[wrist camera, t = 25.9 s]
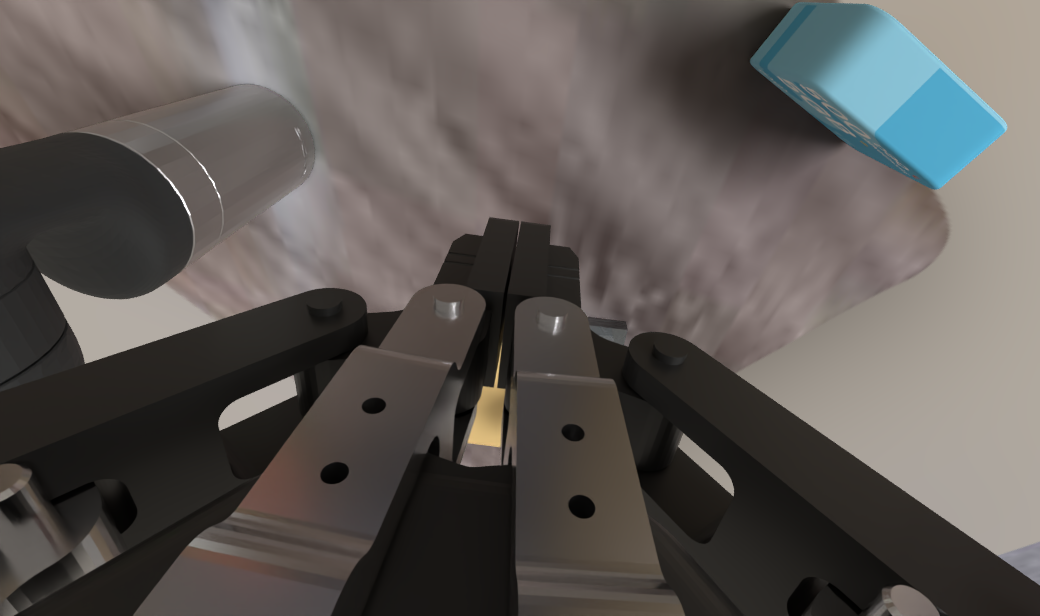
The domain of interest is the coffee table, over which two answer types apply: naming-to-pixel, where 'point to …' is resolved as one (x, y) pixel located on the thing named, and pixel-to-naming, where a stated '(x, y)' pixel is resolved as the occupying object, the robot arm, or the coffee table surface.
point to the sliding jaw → (489, 416)
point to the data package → (878, 89)
